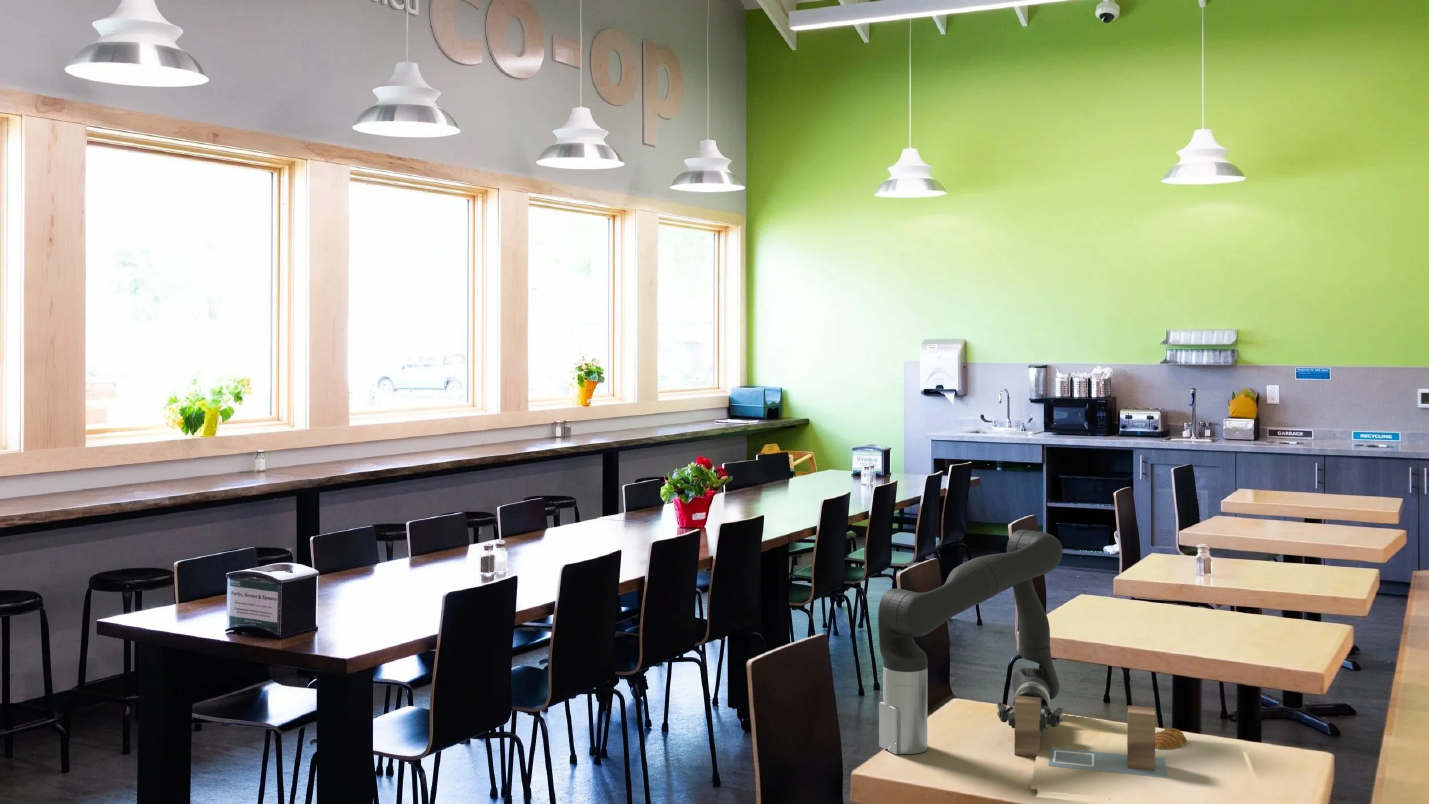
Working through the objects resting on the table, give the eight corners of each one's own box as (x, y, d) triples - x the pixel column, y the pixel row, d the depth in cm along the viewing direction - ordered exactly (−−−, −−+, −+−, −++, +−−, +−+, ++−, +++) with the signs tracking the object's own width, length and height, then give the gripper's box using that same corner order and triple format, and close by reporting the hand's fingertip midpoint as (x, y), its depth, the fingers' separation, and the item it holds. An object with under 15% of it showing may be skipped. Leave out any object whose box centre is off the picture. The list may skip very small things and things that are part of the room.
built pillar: (1155, 770, 225) (1155, 714, 225) (1127, 768, 227) (1128, 712, 227) (1153, 762, 230) (1154, 707, 230) (1127, 760, 232) (1127, 705, 231)
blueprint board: (1167, 784, 221) (1167, 777, 221) (1048, 771, 228) (1048, 765, 228) (1164, 764, 233) (1164, 757, 233) (1050, 753, 240) (1050, 746, 240)
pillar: (1039, 757, 237) (1039, 704, 237) (1014, 754, 239) (1014, 702, 238) (1040, 749, 242) (1041, 697, 241) (1016, 747, 243) (1016, 695, 243)
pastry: (1171, 759, 237) (1171, 740, 236) (1139, 752, 241) (1139, 733, 241) (1190, 748, 243) (1190, 730, 243) (1159, 742, 248) (1159, 724, 248)
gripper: (998, 683, 256) (991, 703, 240) (1065, 688, 251) (1063, 709, 235) (998, 716, 256) (991, 739, 240) (1065, 722, 251) (1063, 746, 235)
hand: (1027, 724), depth 238 cm, fingers closed on pillar, 5 cm apart
